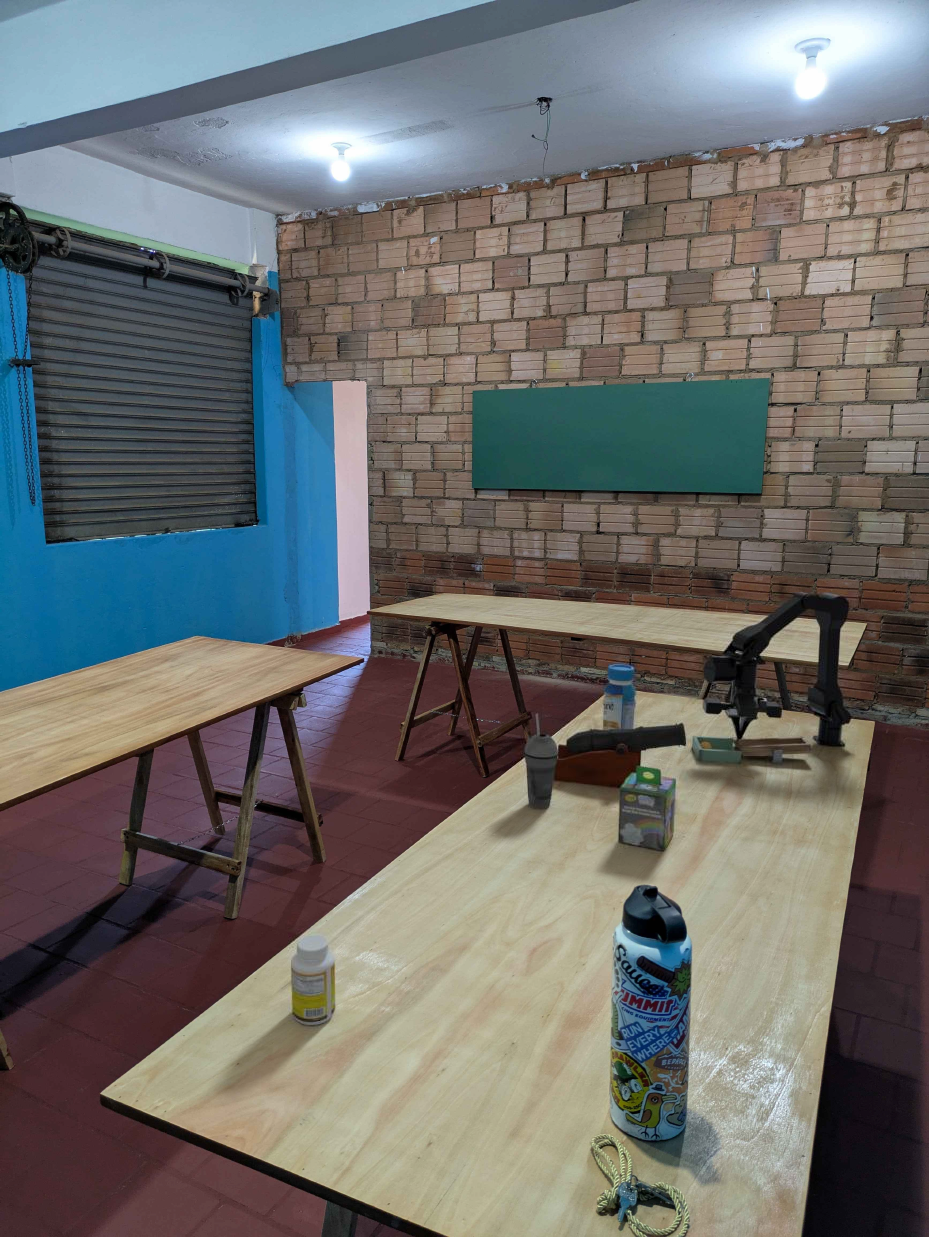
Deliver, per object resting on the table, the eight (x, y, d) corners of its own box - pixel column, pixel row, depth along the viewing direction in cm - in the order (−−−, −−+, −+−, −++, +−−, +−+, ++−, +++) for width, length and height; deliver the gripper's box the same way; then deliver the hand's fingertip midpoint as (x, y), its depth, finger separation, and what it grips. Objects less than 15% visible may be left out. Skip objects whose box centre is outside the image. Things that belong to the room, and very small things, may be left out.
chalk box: (674, 833, 167) (678, 762, 164) (664, 852, 159) (669, 777, 156) (627, 824, 171) (631, 754, 168) (615, 842, 162) (619, 769, 160)
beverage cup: (554, 813, 176) (558, 720, 172) (519, 810, 177) (522, 717, 173) (558, 800, 183) (561, 710, 179) (524, 796, 184) (527, 708, 180)
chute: (732, 740, 221) (731, 732, 221) (797, 738, 219) (797, 729, 218) (741, 756, 209) (741, 747, 209) (810, 753, 207) (810, 744, 207)
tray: (692, 747, 219) (692, 735, 218) (731, 749, 218) (732, 738, 217) (698, 761, 208) (699, 749, 208) (740, 763, 207) (741, 752, 207)
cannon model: (682, 798, 185) (686, 732, 182) (548, 782, 193) (551, 718, 190) (684, 778, 197) (688, 716, 194) (558, 763, 205) (560, 703, 203)
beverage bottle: (636, 746, 218) (640, 671, 215) (603, 746, 218) (607, 670, 215) (630, 736, 227) (634, 663, 223) (598, 735, 227) (602, 662, 223)
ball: (712, 743, 214) (707, 753, 215) (701, 738, 214) (696, 748, 215) (714, 747, 211) (709, 757, 212) (703, 742, 211) (698, 752, 212)
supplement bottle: (316, 995, 114) (315, 925, 113) (344, 1012, 111) (343, 941, 109) (283, 1014, 110) (281, 942, 108) (310, 1033, 107) (309, 959, 105)
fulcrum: (765, 752, 216) (766, 739, 215) (773, 753, 215) (774, 740, 215) (772, 763, 208) (774, 750, 207) (781, 764, 207) (782, 750, 207)
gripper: (711, 687, 209) (706, 747, 211) (790, 691, 207) (784, 752, 209) (704, 676, 219) (699, 734, 222) (779, 680, 217) (773, 738, 220)
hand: (738, 740), depth 218 cm, fingers closed, pressing on chute
